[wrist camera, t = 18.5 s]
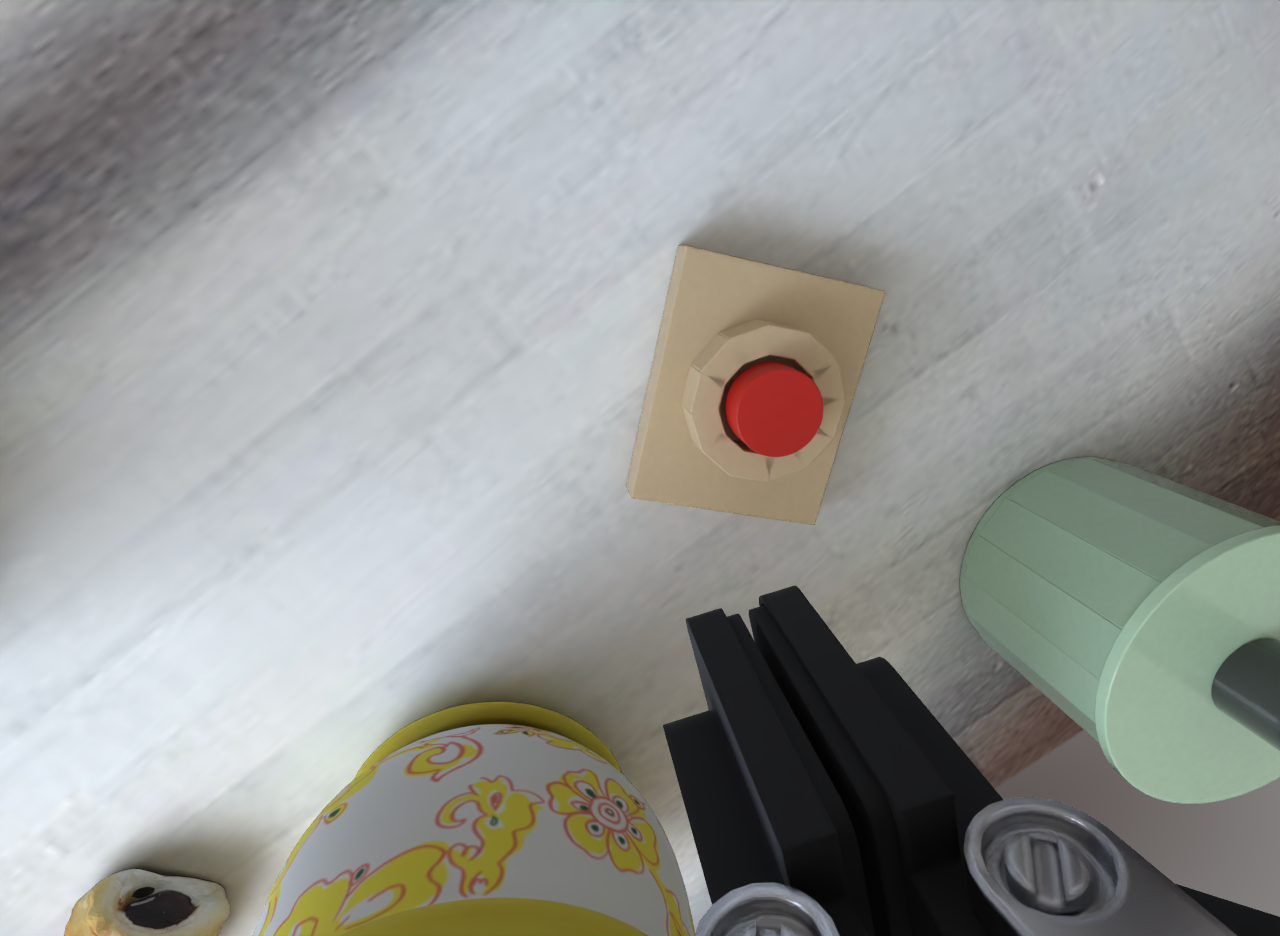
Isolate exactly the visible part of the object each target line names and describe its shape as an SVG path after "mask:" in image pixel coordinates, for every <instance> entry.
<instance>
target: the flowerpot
mask: <svg viewBox="0 0 1280 936" xmlns="http://www.w3.org/2000/svg"><path fill="white" fill-rule="evenodd" d="M694 935H695V931H694V925H693V920H692V915H691V910H690V906H689V901H688V897H687V893H686V889H685V885H684V882H683V878H682V875H681V872H680V869H679V866H678V863H677V860H676V857H675V854H674V852H673V849H672V847H671V845H670V843H669V840H668V838H667V836H666V834H665V832H664V830H663V828H662V826H661V824H660V823H659V821H658V819H657V817H656V816H655V814H654V812H653V811H652V809H651V808H650V806H649V805H648V804H647V802H646V801H645V799H644V798H643V797H642V795H641V794H640V793H639V792H638V791H637V789H636V788H635V787H634V786H633V785H632V784H631V782H630V781H629V780H628V779H627V778H626V777H625V776H623V773H622V771H621V769H620V767H619V764H618V763H617V761H616V759H615V758H614V756H613V755H612V753H611V752H610V750H609V749H608V748H607V747H606V746H605V744H604V743H603V742H602V741H601V740H600V739H599V738H598V737H597V736H596V735H594V734H593V733H592V732H591V731H590V730H588V729H587V728H585V727H584V726H582V725H581V724H579V723H578V722H576V721H574V720H572V719H571V718H568V717H566V716H564V715H562V714H560V713H557V712H554V711H552V710H549V709H545V708H542V707H538V706H534V705H529V704H522V703H514V702H481V703H472V704H466V705H460V706H456V707H452V708H448V709H445V710H442V711H438V712H436V713H433V714H430V715H428V716H425V717H423V718H421V719H419V720H417V721H415V722H413V723H411V724H409V725H407V726H406V727H404V728H402V729H401V730H399V731H398V732H396V733H395V734H394V735H392V736H391V737H390V738H388V739H387V740H386V741H385V742H384V743H382V744H381V745H380V746H379V747H378V748H377V749H376V750H375V751H374V752H373V753H372V754H371V755H370V757H369V758H368V759H367V760H366V761H365V763H364V764H363V765H362V767H361V768H360V770H359V771H358V773H357V775H356V776H355V778H354V780H353V781H352V782H351V783H350V784H349V785H347V786H346V787H345V788H344V789H343V790H342V791H341V792H340V793H339V794H338V795H337V796H336V797H335V798H334V799H333V800H332V801H331V802H330V803H329V804H328V805H327V806H326V807H325V808H324V809H323V810H322V812H321V813H320V814H319V815H318V816H317V818H316V819H315V820H314V821H313V822H312V824H311V825H310V826H309V828H308V829H307V830H306V832H305V833H304V834H303V836H302V837H301V839H300V840H299V842H298V843H297V845H296V846H295V848H294V849H293V851H292V852H291V854H290V856H289V857H288V859H287V861H286V863H285V865H284V866H283V868H282V870H281V872H280V874H279V875H278V877H277V879H276V881H275V883H274V885H273V888H272V890H271V892H270V894H269V896H268V899H267V901H266V903H265V906H264V908H263V910H262V913H261V915H260V918H259V920H258V923H257V925H256V928H255V931H254V933H253V936H694Z"/></svg>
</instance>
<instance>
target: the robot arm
mask: <svg viewBox="0 0 1280 936" xmlns="http://www.w3.org/2000/svg"><path fill="white" fill-rule="evenodd" d="M759 605H760V607H757V608H754V609H751V610H749V618H750V623H751V627H752V632H753V636H754V640H753V638H752V636H751V634H750V633H749V631H748V629H747V627H746V625H745V623H744V622H743V620H742V618H741V616H740V615H739V614H735V615H731V616H728V617H726V615H725V613H724V611H723V610H722V609H721V608H720V609H716V610H713V611H710V612H707V613H703V614H700V615H697V616H693V617H690V618H687V619H686V624H687V628H688V632H689V636H690V640H691V644H692V647H693V651H694V655H695V659H696V663H697V666H698V670H699V674H700V678H701V682H702V685H703V689H704V693H705V697H706V701H707V704H708V708H709V711H706V712H703V713H700V714H696V715H693V716H690V717H687V718H684V719H681V720H677V721H674V722H671V723H668V724H665V725H663V728H664V732H665V735H666V739H667V742H668V746H669V750H670V753H671V757H672V761H673V764H674V768H675V771H676V775H677V779H678V782H679V786H680V790H681V793H682V797H683V800H684V804H685V808H686V811H687V815H688V819H689V822H690V826H691V829H692V833H693V837H694V840H695V844H696V848H697V851H698V855H699V859H700V862H701V866H702V869H703V873H704V877H705V880H706V884H707V888H708V891H709V895H710V898H711V902H712V906H711V907H710V909H709V910H708V911H707V913H706V914H705V915H704V916H703V918H702V919H701V920H700V922H699V924H698V927H697V930H696V932H695V935H694V936H1280V917H1278V916H1275V915H1272V914H1268V913H1265V912H1262V911H1259V910H1256V909H1253V908H1250V907H1247V906H1243V905H1240V904H1237V903H1233V902H1231V901H1228V900H1225V899H1221V898H1218V897H1215V896H1212V895H1209V894H1206V893H1203V892H1199V891H1196V890H1193V889H1190V888H1187V887H1184V886H1181V885H1177V884H1174V883H1173V882H1172V881H1171V880H1169V879H1168V878H1167V877H1166V876H1165V875H1163V874H1162V873H1161V872H1160V871H1159V870H1158V869H1156V868H1155V867H1154V866H1153V865H1152V864H1150V863H1149V862H1148V861H1147V860H1145V859H1144V858H1143V857H1142V856H1141V855H1140V854H1138V853H1137V852H1136V851H1135V850H1133V849H1132V848H1131V847H1130V846H1128V845H1127V844H1126V843H1125V842H1124V841H1123V840H1121V839H1120V838H1119V837H1118V836H1117V835H1115V834H1114V833H1113V832H1112V831H1110V830H1109V829H1108V828H1107V827H1106V826H1104V825H1103V824H1101V823H1100V822H1098V821H1097V820H1095V819H1094V818H1092V817H1091V816H1089V815H1087V814H1086V813H1085V812H1083V811H1081V810H1078V809H1076V808H1073V807H1071V806H1068V805H1065V804H1063V803H1061V802H1058V801H1053V800H1047V799H1042V798H1036V797H1021V798H1020V797H1019V798H1008V799H1005V800H1003V799H1002V798H1001V796H1000V795H999V794H998V793H997V792H996V790H995V789H994V788H993V787H992V786H991V784H990V783H989V782H988V781H987V780H986V778H985V777H984V776H983V775H982V774H981V772H980V771H979V770H978V769H977V768H976V766H975V765H974V764H973V763H972V762H971V760H970V759H969V758H968V757H967V756H966V754H965V753H964V752H963V751H962V750H961V748H960V747H959V746H958V745H957V744H956V742H955V741H954V740H953V739H952V738H951V736H950V735H949V734H948V733H947V732H946V730H945V729H944V728H943V727H942V726H941V724H940V723H939V722H938V721H937V720H936V718H935V717H934V716H933V715H932V714H931V712H930V711H929V710H928V709H927V707H926V706H925V705H924V704H923V703H922V701H921V700H920V699H919V698H918V697H917V695H916V694H915V693H914V692H913V691H912V689H911V688H910V687H909V686H908V685H907V683H906V682H905V681H904V680H903V679H902V677H901V676H900V675H899V674H898V673H897V671H896V670H895V669H894V668H893V667H892V665H890V664H889V663H888V662H887V661H886V660H885V659H884V658H881V657H877V658H874V659H871V660H868V661H865V662H861V663H858V664H856V663H855V662H854V661H853V659H852V658H851V657H850V655H849V654H848V653H847V651H846V650H845V649H844V648H843V646H842V645H841V644H840V642H839V641H838V640H837V638H836V637H835V636H834V634H833V633H832V632H831V630H830V629H829V628H828V626H827V625H826V624H825V622H824V621H823V620H822V618H821V617H820V616H819V614H818V613H817V612H816V610H815V609H814V608H813V606H812V605H811V604H810V602H809V601H808V600H807V598H806V597H805V596H804V594H803V593H802V592H801V590H800V589H799V588H798V587H797V586H791V587H788V588H785V589H782V590H778V591H775V592H772V593H769V594H765V595H762V596H760V597H759ZM754 641H755V642H754Z"/></svg>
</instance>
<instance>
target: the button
mask: <svg viewBox="0 0 1280 936" xmlns="http://www.w3.org/2000/svg"><path fill="white" fill-rule="evenodd" d="M725 414H726V419H727V421H728V424H729V426H730V428H731V430H732V431H733V432H734V433H735V434H736V435H737V437H739V438H740V439H741V440H742V441H743V442H744V443H745V444H746V445H747V446H748V447H749V448H750V449H752V450H753V451H755V452H756V453H758V454H761V455H763V456H768V457H783V456H787V455H791V454H793V453H795V452H797V451H799V450H801V449H802V448H803V447H805V446H806V445H807V444H808V443H809V442H810V441H811V440H812V439H813V438H814V436H815V435H816V433H817V431H818V429H819V427H820V425H821V422H822V418H823V399H822V396H821V393H820V390H819V388H818V387H817V385H816V384H815V383H814V381H813V380H812V379H811V378H809V377H808V376H807V375H805V374H804V373H802V372H800V371H798V370H796V369H794V368H792V367H790V366H788V365H785V364H783V363H779V362H762V363H758V364H755V365H753V366H751V367H749V368H747V369H746V370H744V371H743V372H742V373H741V374H740V375H739V376H738V377H737V378H736V379H735V380H734V382H733V383H732V385H731V386H730V389H729V391H728V394H727V397H726V402H725Z"/></svg>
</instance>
